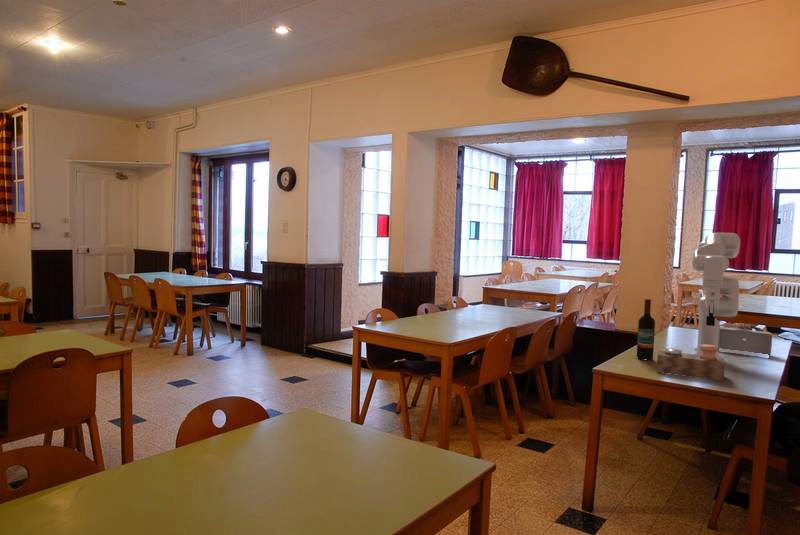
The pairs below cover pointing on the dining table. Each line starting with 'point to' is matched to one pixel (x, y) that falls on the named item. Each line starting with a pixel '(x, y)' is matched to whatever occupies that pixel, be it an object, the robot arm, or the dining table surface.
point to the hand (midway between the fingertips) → (710, 325)
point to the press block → (691, 366)
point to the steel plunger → (673, 352)
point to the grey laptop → (753, 343)
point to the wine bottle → (646, 333)
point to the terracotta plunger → (708, 351)
